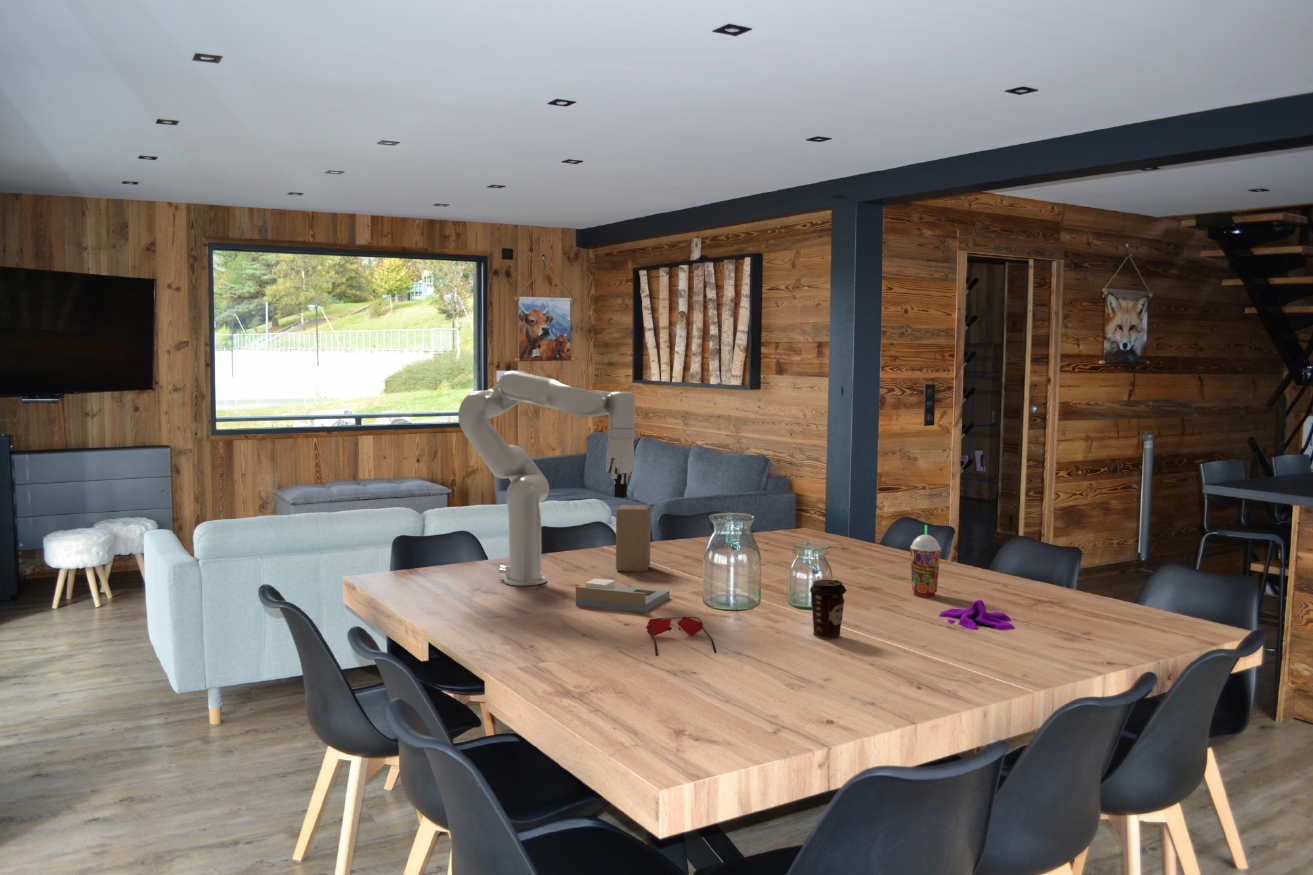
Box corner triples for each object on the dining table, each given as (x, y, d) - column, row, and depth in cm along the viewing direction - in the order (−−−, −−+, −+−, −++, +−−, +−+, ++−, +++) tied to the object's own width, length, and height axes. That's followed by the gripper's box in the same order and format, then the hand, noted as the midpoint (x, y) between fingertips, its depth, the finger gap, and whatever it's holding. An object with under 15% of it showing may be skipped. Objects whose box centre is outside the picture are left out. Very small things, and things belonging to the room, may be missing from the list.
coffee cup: (848, 633, 238) (849, 580, 237) (843, 641, 230) (844, 587, 229) (812, 629, 241) (813, 577, 240) (806, 638, 233) (806, 584, 232)
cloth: (934, 611, 262) (935, 589, 261) (1008, 615, 258) (1008, 592, 258) (942, 633, 240) (942, 608, 240) (1022, 638, 236) (1022, 612, 236)
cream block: (585, 597, 265) (585, 582, 264) (595, 592, 270) (595, 578, 270) (605, 599, 262) (605, 584, 262) (615, 594, 268) (615, 580, 268)
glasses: (702, 635, 237) (702, 614, 236) (717, 654, 221) (717, 633, 220) (645, 637, 235) (645, 616, 234) (655, 657, 218) (655, 635, 218)
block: (650, 566, 317) (650, 504, 315) (647, 572, 307) (647, 509, 305) (619, 565, 318) (620, 504, 316) (615, 572, 308) (615, 508, 306)
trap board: (575, 605, 264) (575, 586, 264) (604, 591, 281) (604, 574, 281) (644, 612, 257) (644, 593, 256) (669, 597, 273) (669, 580, 273)
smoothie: (907, 596, 276) (908, 526, 275) (911, 590, 284) (912, 522, 282) (938, 599, 273) (939, 528, 271) (941, 593, 281) (942, 523, 279)
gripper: (621, 432, 293) (620, 493, 294) (597, 435, 279) (597, 499, 281) (644, 433, 290) (643, 495, 291) (621, 436, 276) (620, 501, 278)
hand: (620, 497), depth 286 cm, fingers closed
